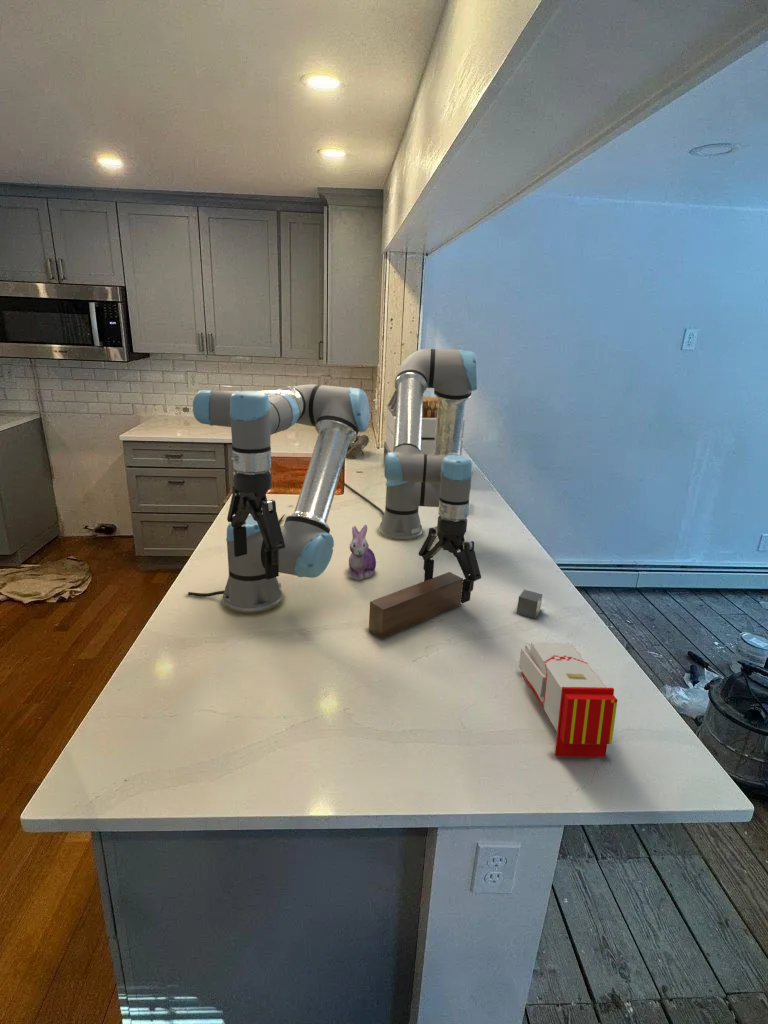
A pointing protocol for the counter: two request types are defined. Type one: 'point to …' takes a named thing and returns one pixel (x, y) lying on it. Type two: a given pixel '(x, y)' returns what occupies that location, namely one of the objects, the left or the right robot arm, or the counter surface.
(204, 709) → the counter surface
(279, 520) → the feather
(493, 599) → the counter surface
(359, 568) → the figurine
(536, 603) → the slate cube
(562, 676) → the toy
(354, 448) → the fossil
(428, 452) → the grey wooden crate
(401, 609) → the walnut bar
